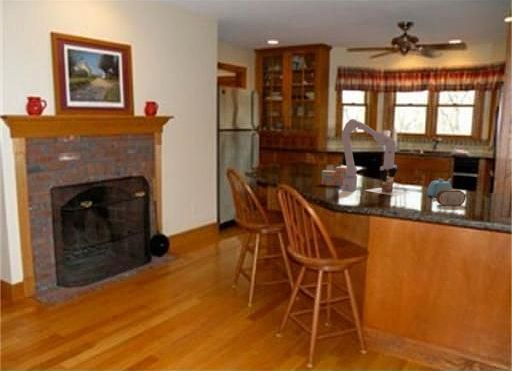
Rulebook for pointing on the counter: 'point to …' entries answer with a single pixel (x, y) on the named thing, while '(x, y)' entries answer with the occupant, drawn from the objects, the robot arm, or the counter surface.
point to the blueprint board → (393, 193)
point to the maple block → (389, 181)
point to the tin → (450, 197)
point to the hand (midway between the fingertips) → (387, 180)
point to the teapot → (438, 187)
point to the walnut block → (387, 188)
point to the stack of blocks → (334, 176)
